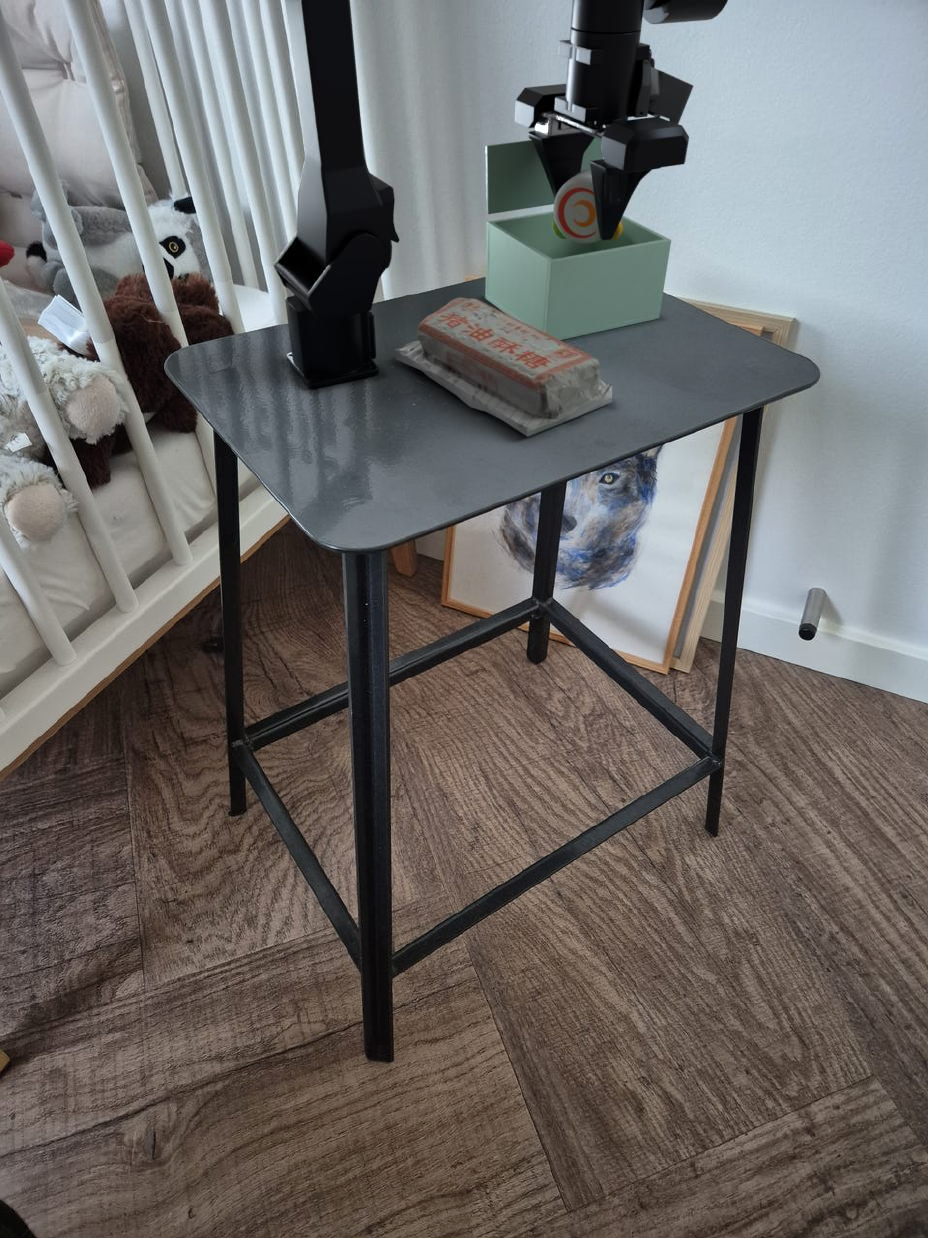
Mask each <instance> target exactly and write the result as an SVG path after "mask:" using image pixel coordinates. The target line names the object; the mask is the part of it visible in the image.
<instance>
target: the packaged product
mask: <svg viewBox="0 0 928 1238" xmlns="http://www.w3.org/2000/svg"><path fill="white" fill-rule="evenodd" d="M417 337H418V339H417V340H414V341H411V342H409V343H408V342H407V343H405V344H404V345H403V347H402V348H395V347H394V348H393V350H394V353H395V359H396V361H398V362H401V363H403V364H405V365H408V366H410V367H412V368H415V369H417V370H419V371H421V372H422V373H424V374H425V375H426V376H427V377H428V378H430V379H431V380H433V381H434V382H436V383H437V384H438V385H440V386H442V387H443V388H445V389H446V390H448V391H449V392H451V393H452V394H454V395H455V396H456V397H457V398H459V399H460V400H461V401H462V402H463V403H465V404H466V405H467V406H468V407H469V408H472V409H475V410H479V411H481V412H486V413H488V414H490V415H492V416H493V417H495V418H497V419H499V420H501V421H503V422H504V423H506V424H507V425H509V426H510V427H512V428H513V429H515V430H517V431H518V432H520V433H522V434H523V435H524V436H526V437H527V438H528V437H530V436H533V435H536V434H537V433H540V432H543V431H545V430H546V431H547V430H548V429H551V428H553V427H556V426H558V425H561V424H563V423H565V422H568V421H570V420H573V419H575V418H577V417H580V416H582V415H586V414H588V413H589V412H592V411H594V410H597V409H600V408H601V407H604V406H606V405H609V404H611V403H613V384H608V383H607V384H606V383H605V381H603V380H602V379H600V375H601V373H602V369H601V362H600V360H598V359H597V358H596V357H593V356H591V355H590V354H587V353H586V352H585V351H582V350H581V349H578V348H576V347H575V346H572V345H571V344H568V343H566V342H564V341H563V340H558V339H556V338H554V337H552V336H550V335H548V334H546V333H544V332H542V331H540V330H538V329H536V328H534V327H532V326H530V325H528V324H526V323H524V322H521V321H519V320H518V319H515V318H513V317H511V316H510V315H507V314H506V313H504V312H503V311H502V310H498V309H497V308H495V307H493V306H491V305H489V304H488V303H485V302H483V301H481V300H479V299H476V298H465V297H456V298H454V299H452V300H450V301H449V302H448V303H447V304H445V305H444V306H442V307H440V308H439V309H437V311H434V312H432V313H430V314H428V315H427V316H426V317H425V318H424V319H422V320H421V321H420V322H419V323H418V326H417Z"/></svg>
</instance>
